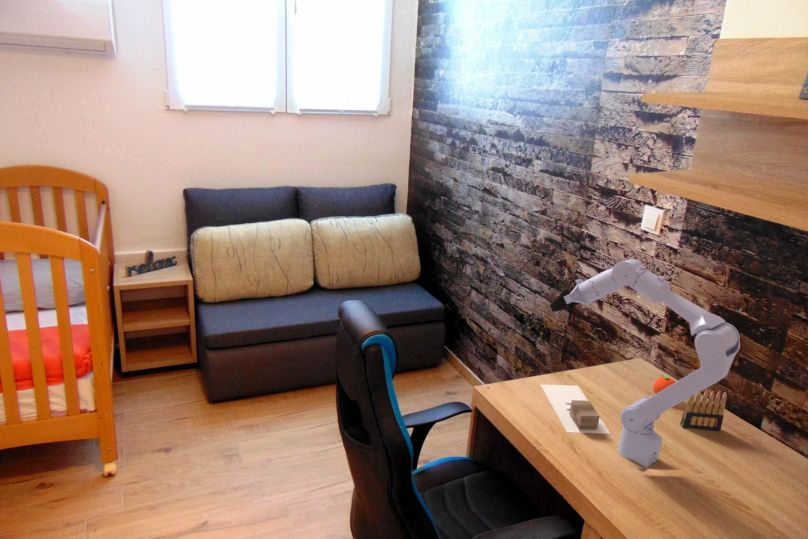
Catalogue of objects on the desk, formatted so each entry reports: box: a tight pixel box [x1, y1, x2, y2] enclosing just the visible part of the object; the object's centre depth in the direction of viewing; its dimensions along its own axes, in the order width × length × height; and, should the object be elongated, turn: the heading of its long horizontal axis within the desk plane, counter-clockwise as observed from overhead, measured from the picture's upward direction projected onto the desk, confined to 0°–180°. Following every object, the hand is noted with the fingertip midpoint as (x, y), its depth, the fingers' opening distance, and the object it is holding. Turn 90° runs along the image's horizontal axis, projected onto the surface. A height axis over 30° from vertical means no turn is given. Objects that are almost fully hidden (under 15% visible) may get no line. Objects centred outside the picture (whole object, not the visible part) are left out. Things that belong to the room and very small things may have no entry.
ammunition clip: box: [679, 389, 728, 432], centre depth 170 cm, size 11×2×12 cm, turn 88°
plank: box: [539, 384, 611, 435], centre depth 175 cm, size 26×12×1 cm, turn 4°
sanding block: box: [569, 400, 600, 431], centre depth 167 cm, size 8×5×5 cm, turn 4°
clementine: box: [653, 375, 676, 395], centre depth 187 cm, size 8×7×7 cm
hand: (560, 305), depth 165 cm, fingers open, 7 cm apart
